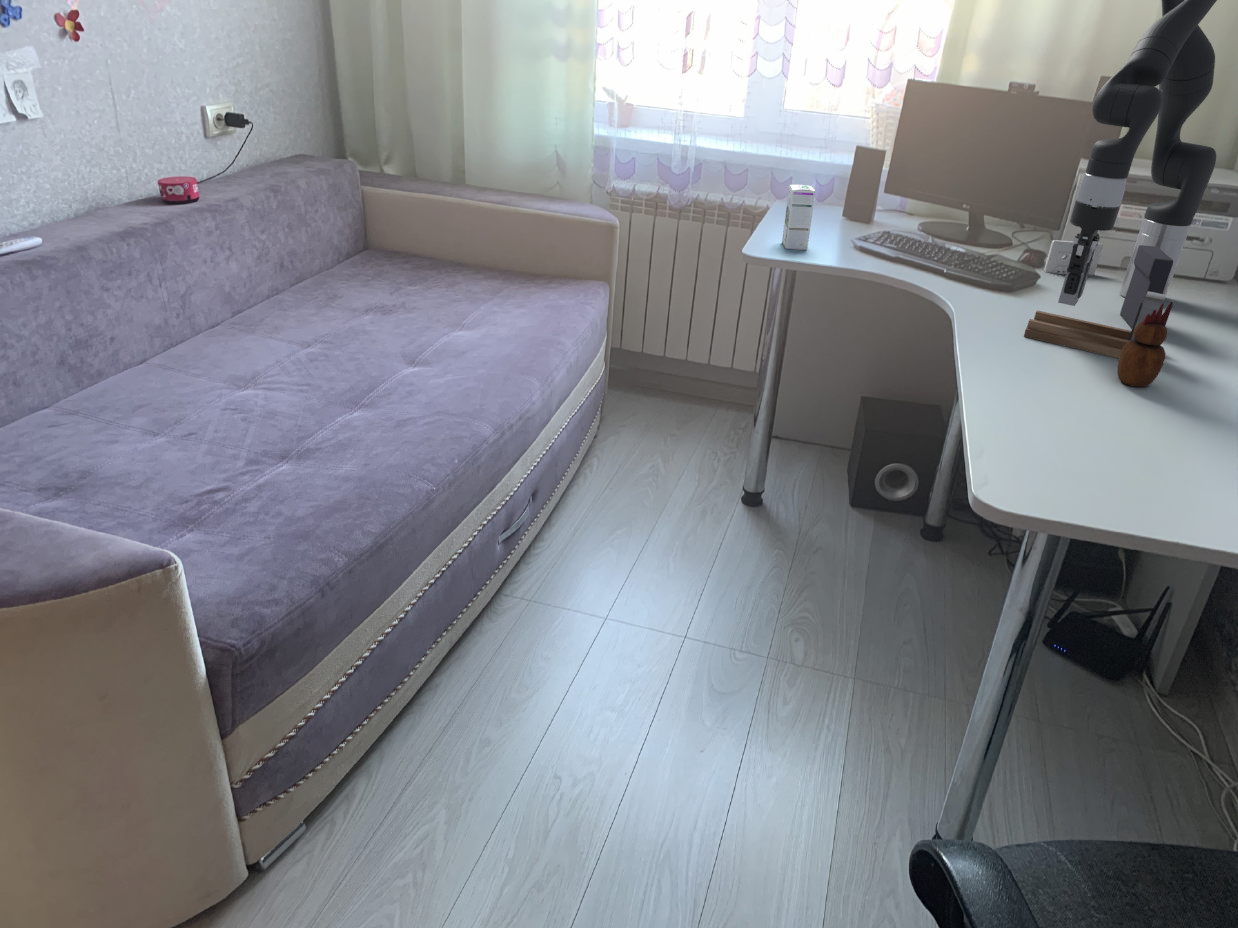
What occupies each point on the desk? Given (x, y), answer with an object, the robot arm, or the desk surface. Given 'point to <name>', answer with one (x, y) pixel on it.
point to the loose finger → (1074, 299)
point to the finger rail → (1089, 329)
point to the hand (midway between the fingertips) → (1071, 290)
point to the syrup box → (798, 217)
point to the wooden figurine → (1144, 350)
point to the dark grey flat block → (1146, 279)
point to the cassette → (1066, 257)
